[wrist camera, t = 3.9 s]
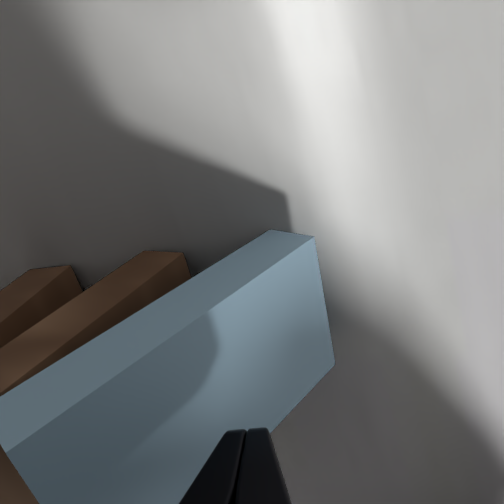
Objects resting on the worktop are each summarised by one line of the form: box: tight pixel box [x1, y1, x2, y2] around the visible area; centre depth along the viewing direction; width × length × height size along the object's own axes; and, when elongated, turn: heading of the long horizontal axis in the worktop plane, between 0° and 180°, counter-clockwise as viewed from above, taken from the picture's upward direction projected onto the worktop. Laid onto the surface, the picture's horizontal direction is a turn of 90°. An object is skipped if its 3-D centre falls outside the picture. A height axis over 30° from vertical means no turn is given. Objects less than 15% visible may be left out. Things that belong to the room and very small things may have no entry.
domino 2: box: [0, 251, 191, 504], centre depth 10 cm, size 2×4×8 cm, turn 15°
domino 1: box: [0, 229, 335, 504], centre depth 10 cm, size 2×4×8 cm
